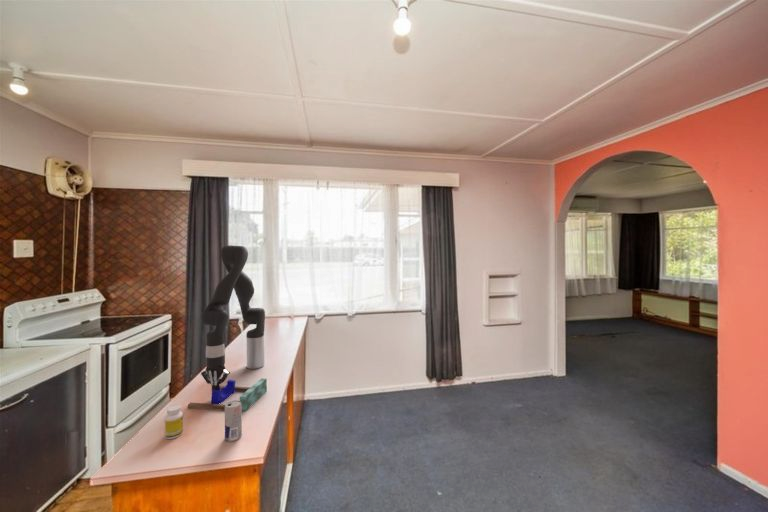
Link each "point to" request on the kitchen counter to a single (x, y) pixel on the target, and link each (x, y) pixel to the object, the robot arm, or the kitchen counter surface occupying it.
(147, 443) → the kitchen counter surface
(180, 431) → the supplement bottle
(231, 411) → the energy drink
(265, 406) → the kitchen counter surface
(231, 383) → the cable clip
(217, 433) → the kitchen counter surface
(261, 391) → the guide channel
